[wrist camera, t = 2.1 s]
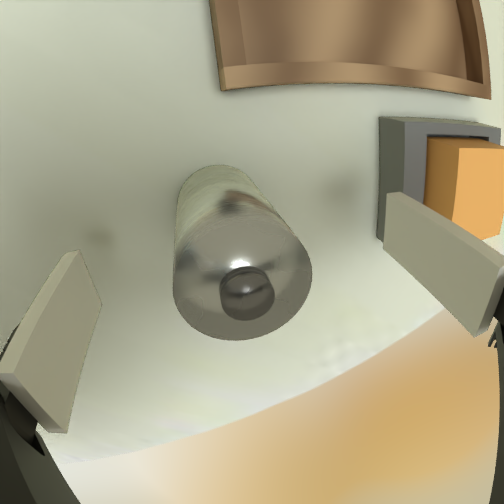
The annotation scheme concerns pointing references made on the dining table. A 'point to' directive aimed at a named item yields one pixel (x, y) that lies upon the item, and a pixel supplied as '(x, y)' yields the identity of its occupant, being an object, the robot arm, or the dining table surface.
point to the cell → (235, 258)
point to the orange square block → (466, 183)
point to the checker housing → (416, 153)
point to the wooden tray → (352, 43)
